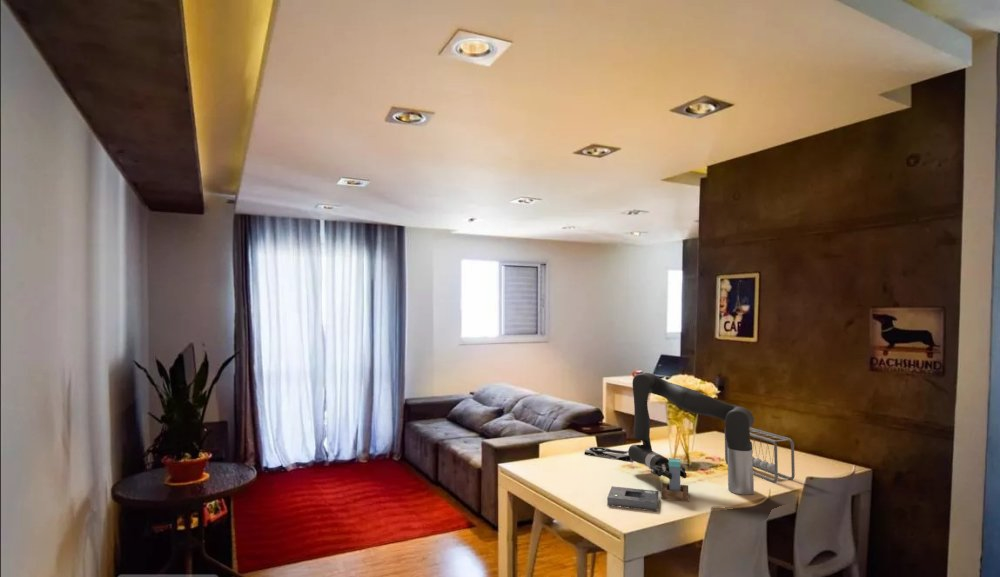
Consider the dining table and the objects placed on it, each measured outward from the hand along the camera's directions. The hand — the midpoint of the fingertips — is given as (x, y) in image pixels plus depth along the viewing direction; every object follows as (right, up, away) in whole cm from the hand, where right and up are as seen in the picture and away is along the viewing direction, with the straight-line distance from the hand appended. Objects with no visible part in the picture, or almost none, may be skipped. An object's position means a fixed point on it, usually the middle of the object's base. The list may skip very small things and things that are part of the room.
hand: (678, 476), depth 210 cm
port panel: (-19, -9, -4) cm, 21 cm away
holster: (0, -9, +2) cm, 9 cm away
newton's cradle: (+47, -9, +31) cm, 57 cm away
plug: (0, -9, +2) cm, 9 cm away
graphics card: (-14, -11, +59) cm, 62 cm away
